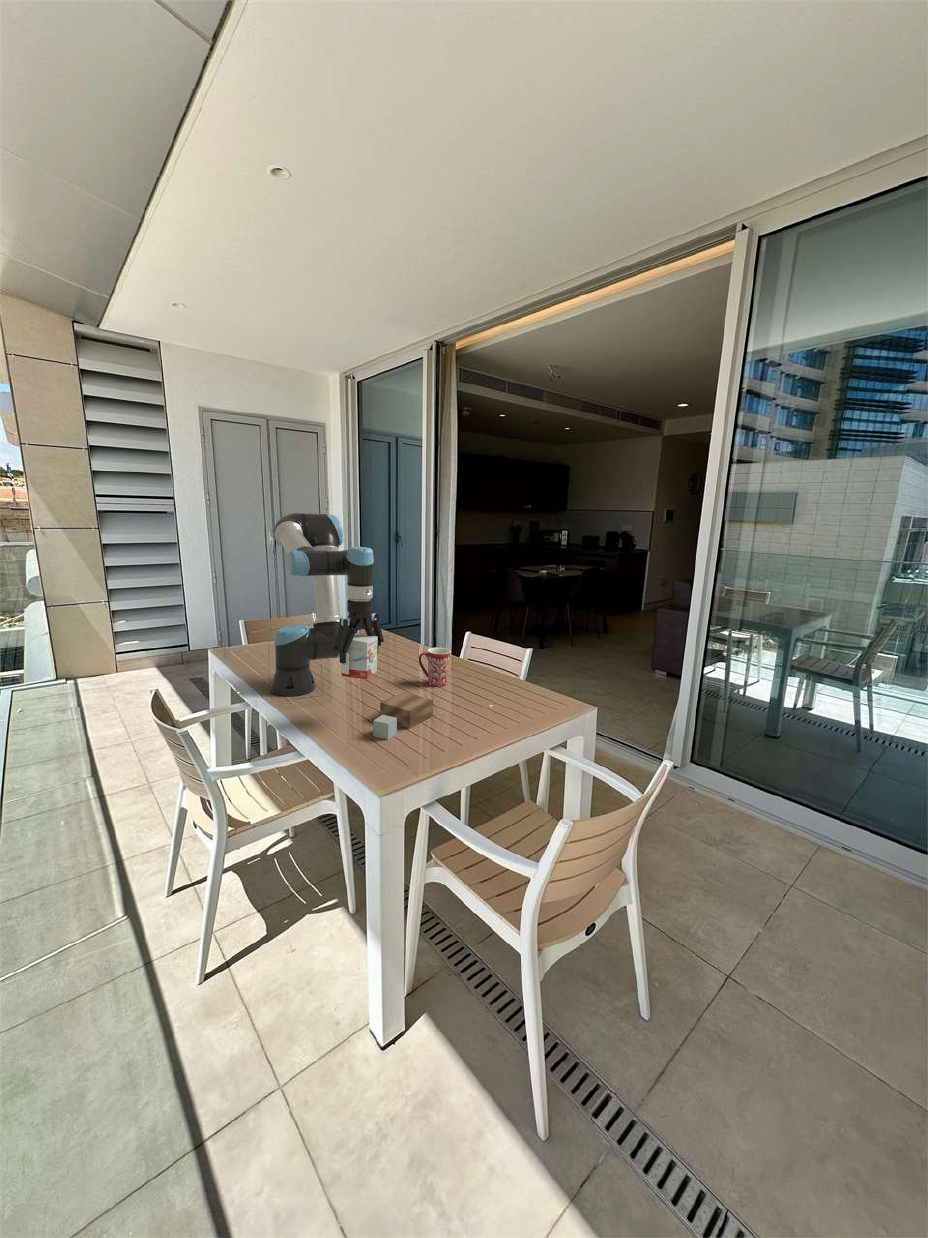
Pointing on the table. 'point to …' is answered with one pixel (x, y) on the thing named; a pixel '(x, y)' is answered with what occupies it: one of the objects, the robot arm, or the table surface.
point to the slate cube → (385, 727)
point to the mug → (436, 666)
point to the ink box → (362, 656)
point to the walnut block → (407, 709)
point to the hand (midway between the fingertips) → (359, 669)
